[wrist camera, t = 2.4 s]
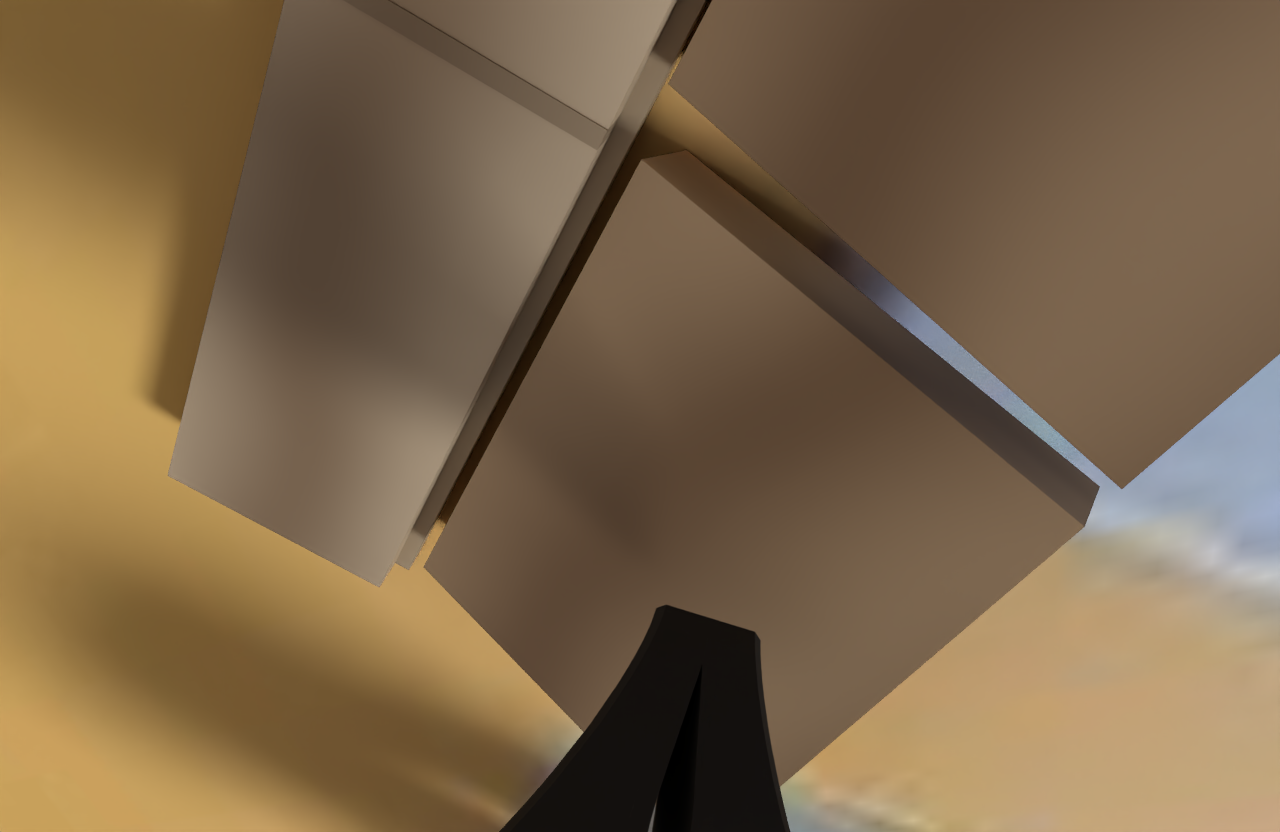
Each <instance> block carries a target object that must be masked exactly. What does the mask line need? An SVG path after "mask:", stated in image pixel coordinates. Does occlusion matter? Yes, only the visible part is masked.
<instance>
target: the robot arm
mask: <svg viewBox="0 0 1280 832" xmlns="http://www.w3.org/2000/svg"><path fill="white" fill-rule="evenodd" d="M655 804H656V807H655ZM654 808H655V814H654V820H653V827H652V832H790V829H789V825H788V821H787V817H786V813H785V809H784V804H783V800H782V796H781V791H780V786H779V781H778V776H777V771H776V766H775V761H774V756H773V751H772V746H771V740H770V734H769V728H768V721H767V714H766V707H765V700H764V691H763V682H762V670H761V640H760V639H759V637H758V635H757V634H756V632H754V631H751V630H748V629H745V628H741V627H738V626H735V625H732V624H728V623H725V622H722V621H719V620H715V619H712V618H709V617H706V616H702V615H699V614H696V613H692V612H689V611H686V610H683V609H679V608H676V607H673V606H670V605H663V606H660V607H657V608H656V610H655V613H654V616H653V619H652V622H651V624H650V627H649V629H648V631H647V633H646V635H645V637H644V639H643V641H642V643H641V645H640V647H639V649H638V651H637V653H636V654H635V656H634V658H633V660H632V661H631V663H630V665H629V666H628V668H627V670H626V671H625V673H624V675H623V676H622V678H621V680H620V681H619V683H618V684H617V686H616V687H615V688H614V690H613V691H612V693H611V694H610V696H609V697H608V699H607V700H606V702H605V703H604V705H603V706H602V707H601V709H600V710H599V712H598V713H597V715H596V716H595V718H594V719H593V721H592V722H591V723H590V725H589V726H588V727H587V729H586V730H585V731H584V733H583V734H582V735H581V736H580V738H579V739H578V740H577V741H576V743H575V744H574V745H573V747H572V748H571V749H570V750H569V752H568V753H567V754H566V755H565V757H564V758H563V759H562V760H561V762H560V763H559V764H558V765H557V767H556V768H555V769H554V771H553V772H552V773H551V774H550V775H549V777H548V778H547V779H546V780H545V781H544V782H543V784H542V785H541V786H540V787H539V788H538V789H537V791H536V792H535V793H534V794H533V795H532V796H531V798H530V799H529V800H528V801H527V802H526V803H525V804H524V805H523V807H522V808H521V809H520V810H519V811H518V812H517V813H516V814H515V815H514V816H513V817H512V818H511V820H510V821H509V822H508V823H507V824H506V825H505V826H504V827H503V828H502V829H501V830H500V831H499V832H648V830H649V826H650V822H651V818H652V815H653V811H654Z"/></svg>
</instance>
